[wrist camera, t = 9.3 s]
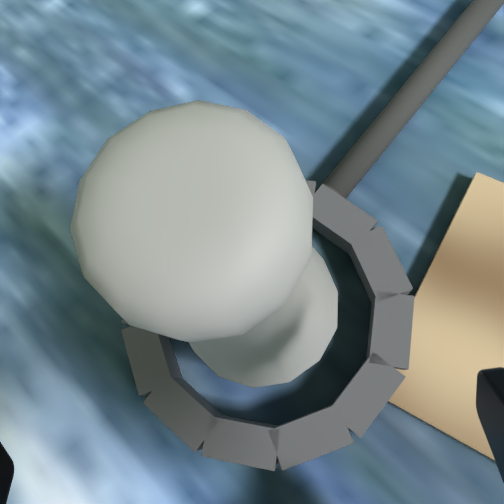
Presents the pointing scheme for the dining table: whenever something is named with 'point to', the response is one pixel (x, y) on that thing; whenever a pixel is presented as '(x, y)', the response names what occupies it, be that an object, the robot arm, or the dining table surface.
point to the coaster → (459, 319)
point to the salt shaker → (208, 241)
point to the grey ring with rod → (375, 283)
